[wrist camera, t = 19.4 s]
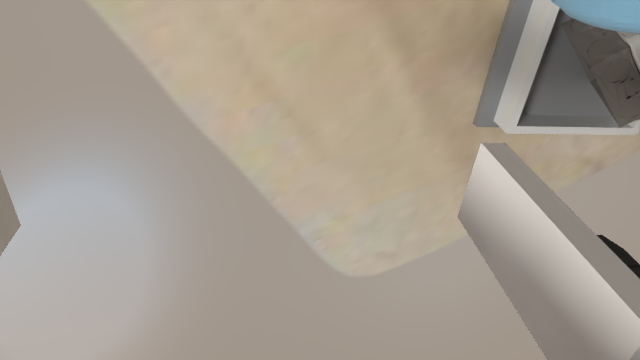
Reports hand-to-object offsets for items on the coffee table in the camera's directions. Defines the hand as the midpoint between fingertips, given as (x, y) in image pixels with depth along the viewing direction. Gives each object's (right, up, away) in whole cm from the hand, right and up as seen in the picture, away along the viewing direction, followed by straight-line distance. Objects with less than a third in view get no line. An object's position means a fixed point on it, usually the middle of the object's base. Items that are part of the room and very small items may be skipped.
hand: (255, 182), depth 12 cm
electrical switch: (+27, +13, +30) cm, 43 cm away
